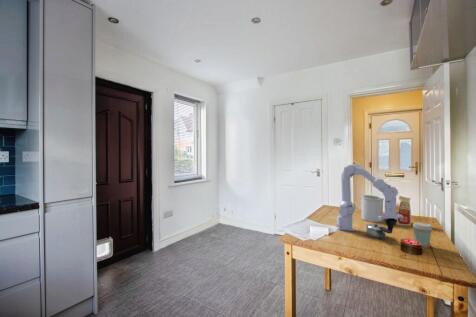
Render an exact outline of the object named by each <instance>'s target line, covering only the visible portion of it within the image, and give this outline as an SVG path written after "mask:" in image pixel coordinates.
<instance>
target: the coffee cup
mask: <svg viewBox="0 0 476 317" xmlns="http://www.w3.org/2000/svg"><path fill="white" fill-rule="evenodd" d="M412 227H413V235H414V241H415V240H416V241H419V242H420V243H421V245H422V247H421V248H425V249H427V248H429V247H430V241H431V235H432V230H433V227H432V225H431V224H429V223H427V222H421V221H419V222H418V221H417V222H416V221H415V222H413V224H412Z"/></svg>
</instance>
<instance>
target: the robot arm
mask: <svg viewBox="0 0 476 317" xmlns="http://www.w3.org/2000/svg"><path fill="white" fill-rule="evenodd" d="M355 175H357V176H361V177H363V178H365V179H366V180H367V181H368V182H370V183H371V184H372V186H373V187H374V188H375V189H377V190H378V191H379V192H381V193H382V195H383V197H384V214H383V215H381V216H378V219H379V220H382V221H384V222H385V225H386V226H387V228H388V229H391V230H392V232H393V230H394V226H395V224H396V222H397V220H396V219H397V218H403V215H400V214H396V206H397V196H398V195H399V191H398V189H397V188H396V187H395V186H392V185H391V184H388V183H387V182H385V180H384V179H382V178H376V177H375V176H374V175H373V174H372V173H370V172H369V171H367V170H366V169H365V168H364V167H363V166H362V165H360V164H358V163H356V164H347V165H346V166H344V167H343V171H342V173H341V179H340V180H341V203H340V204H339V208H338V213H339V215H337V216H336V227H337V229H338V230H339V231H353V232H354V231H355V228H353V216H354V215H353V214H354V213H355V212H356V211H355V207H354V204H353V202H352V196H351V195H352V193H351V187H352V186H351V178H352V177H353V176H355Z"/></svg>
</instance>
